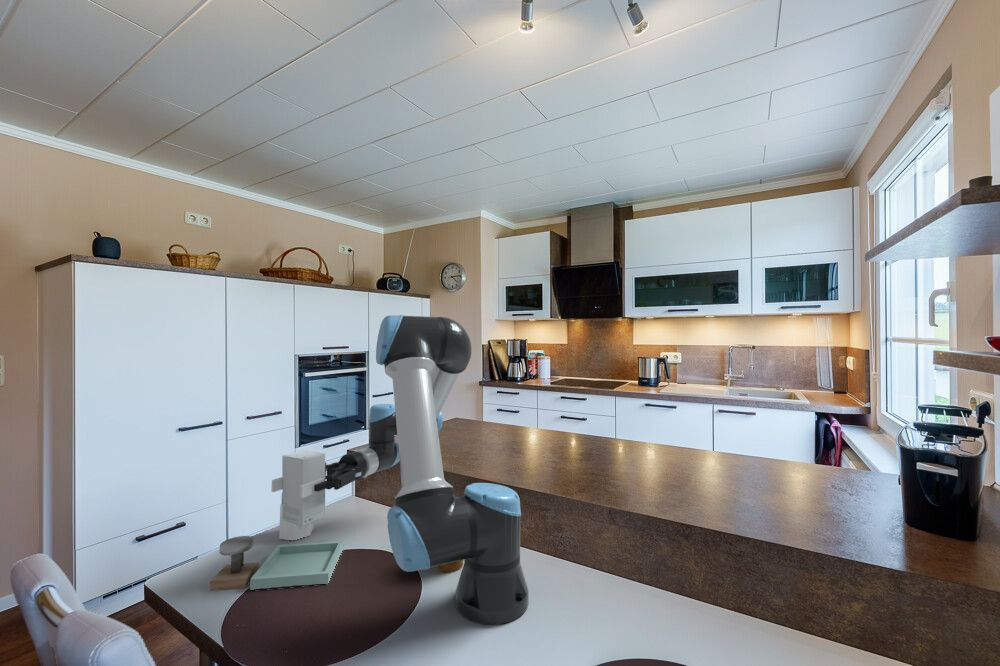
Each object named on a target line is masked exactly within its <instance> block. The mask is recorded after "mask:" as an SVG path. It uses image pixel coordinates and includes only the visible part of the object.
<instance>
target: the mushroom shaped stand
mask: <svg viewBox="0 0 1000 666" xmlns="http://www.w3.org/2000/svg"><path fill="white" fill-rule="evenodd" d="M253 546H254V537H253V536H250V535H239V536H235V537H231V538H227V539H226V540H224V541H222V542H221V543H220V544H219V554H220V555H222V556H230V564H228V563H227V564H225V565H224V566H223V567H222V569H221V570H219V571H218V573H217V574H216V575H215V576H214V577H212V578H211V580H210V582H209V583H210V586H209V591H218V590H219V591H220V590H232V589H233V590H234V589H243V588H245V589H246V588H247V586H249V585H250V579H251V578H252V577H253V575H254V574H255V573H256V572H257V570H258V569H259V568H260V562H258V561H257V562H244V559H245V553H246V552H247V551H249V550H251V549H252V548H253Z"/></svg>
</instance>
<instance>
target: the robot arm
mask: <svg viewBox="0 0 1000 666" xmlns="http://www.w3.org/2000/svg"><path fill="white" fill-rule="evenodd" d="M471 358H472V342H471V338H470V336H469V334H468V332H467V330H466V329H465V328H464V327H463V326H462V325H461V324H460V323H459V322H457V321H456V320H454V319H452V318H449V317H445V316H438V317H437V316H420V315H417V316H415V315H404V314H400V315H395V314H394V315H387V316H385V317H384V318H383V319H382V321H381V323H380V326H379V330H378V334H377V340H376V347H375V360H376V361H375V362H376V364H378V365H380V366H384V373H385V374H386V376H388V377H389V378H390V379H392V387H393V400H394V402H393V403H394V404H392V403H378V404H373V405H371V407H370V409H369V419H368V447H365V448H362V449H359V450H355V451H352V452H348V453H347V454H344V455H342V456H341V457H340V458H339V460H338V461H336V462H332V463H330V464H327V462H325V478H321V479H318V480H315V481H312V482H309V483H306V484H303V485H300V498H304V497H307V496H309V495H312V494H315V493H317V492H320V491H323V490H325V491H326V490H331V489H333V490H335V491H338V490H339V489H342V488H344V487H345V486H347V485H349V484H350V483H353V482H355V481H358V480H360V479H362V478H363V479H366V478H367V477H368V476H370V475H374V474H375V473H378V472H381V471H385V470H388V469H390V468H392V467H393V466H395V465H397V464H398V463H399V469H400V480H401V481H400V483H401V488H400V490H399V491H398V493H397V495H396V496H395V497H394V501H395V505H393V506H392V507H390V508H389V509H388V512H387V517H386V518H387V531H388V539H389V544H390V547H391V552H392V554H393V557H394V559H395V563H396V564H397V565H398V566H399V568H400V569H401V570H403V571H404V572H415V571H416V572H417V571H420V570H421V571H422V570H427V571H428V570H429V569H430V568H437V566H440V565H444V564H448V563H452V562H456V561H460V560H463V566H462V570H461V573H460V576H459V579H458V581H457V585H456V588H455V607H456V610H457V612H458V613H459V614H460V615H462V617H464V618H466V619H467V620H469V621H471V622H474V623H477V624H481V625H500V624H507V623H508V622H512V621H514V620H516V619H518V618H520V617H521V616H522V615H524V613H525V612H526V611H527V609H528V607H529V588H528V584H527V582H526V577H525V575H524V571H523V568H522V564H521V516H522V511H521V501H520V497H519V494H518V493H517V491H516V490H514V489H512V488H510V487H508V486H505V485H501V484H497V483H496V484H495V483H489V482H473V483H470V484H468V485H466V487H465V489H464V491H463V493H464V495H459V496H455V492H454V487H453V485H452V484H450V483H449V482H448V481H446V480H445V475H444V466H443V459H442V458H443V457H442V452H441V443H440V438H439V436H440V435H439V431H440V430H441V429H442V427H443V421H444V418H443V413H442V409H443V407H444V405H445V403H446V401H447V399H448V397H449V395H450V393H451V391H452V389H453V387H454V385H455V383H456V381H457V379H458V377H459V375H460V374H462V373H463V372H464V371H465V370H466V369H467V367H468V365H469V363H470V361H471ZM395 436H397V442H396V440H395V438H396V437H395ZM281 490H282V476H281V477H277V478H274V479H272V480H271V493H276V492H279V491H281Z"/></svg>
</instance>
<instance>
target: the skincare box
mask: <svg viewBox="0 0 1000 666" xmlns="http://www.w3.org/2000/svg"><path fill="white" fill-rule="evenodd" d="M281 457H282V460H281V461H282V462H281V463H282V467H281V469H282V472H281V473H282V476H281V477H282V491H281V492H282V493H281V503H282V508H283V509H282V520H285V521H288V522H290V523H293V524H296V525H299V526H305V525H308V524H311V523H313V524H314V523H315V522H318V521H320V520H323V519H325V518H326V489H325V490H323V491H320V492H317V493H315V494H312V495H309V496H307V497H304V498H300V485H303V484H306V483H309V482H312V481H315V480H318V479H321V478H325V463H326V452H318V451H313V450H307V449H304V450H299V451H295V452H292V453H287V454H286V453H285V454H283V455H282V456H281Z"/></svg>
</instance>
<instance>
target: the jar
mask: <svg viewBox="0 0 1000 666" xmlns="http://www.w3.org/2000/svg"><path fill="white" fill-rule="evenodd" d="M279 507H280V509H279V537H278V539H279V540H283V539H284V540H285V541H289V540H292V541H291V542H294V541H293V540H295V541H298V540H300V538H302V539H304V538H303V537H305V538H308V537H310V536H311V534H312V532H313V531H314V522H313V523H311V524H308V525H305V526H299V525H296V524H293V523H290V522H288V521H285V520H282V509H283V508H282V502H281V503H280V505H279ZM307 536H308V537H307ZM297 539H298V540H297Z"/></svg>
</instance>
